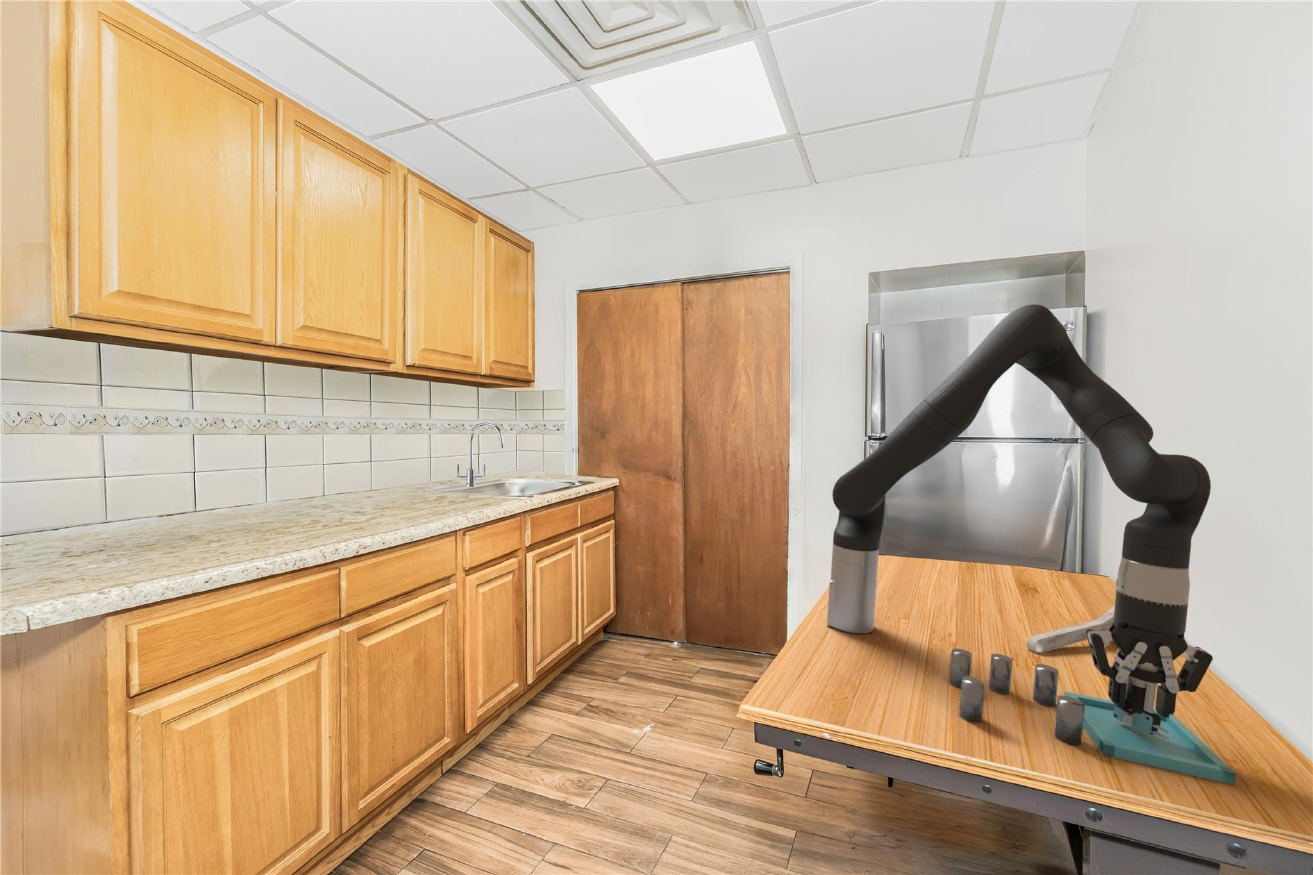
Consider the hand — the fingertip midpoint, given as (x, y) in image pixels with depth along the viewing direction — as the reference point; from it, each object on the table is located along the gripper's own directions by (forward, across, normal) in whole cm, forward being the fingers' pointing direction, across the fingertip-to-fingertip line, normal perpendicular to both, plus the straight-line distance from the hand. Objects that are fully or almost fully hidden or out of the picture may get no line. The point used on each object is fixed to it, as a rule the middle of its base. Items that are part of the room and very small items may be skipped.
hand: (1140, 709), depth 76 cm
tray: (+4, 0, 0) cm, 4 cm away
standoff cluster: (+4, -16, 0) cm, 16 cm away
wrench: (+5, +5, +37) cm, 38 cm away
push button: (+3, 0, 0) cm, 3 cm away
